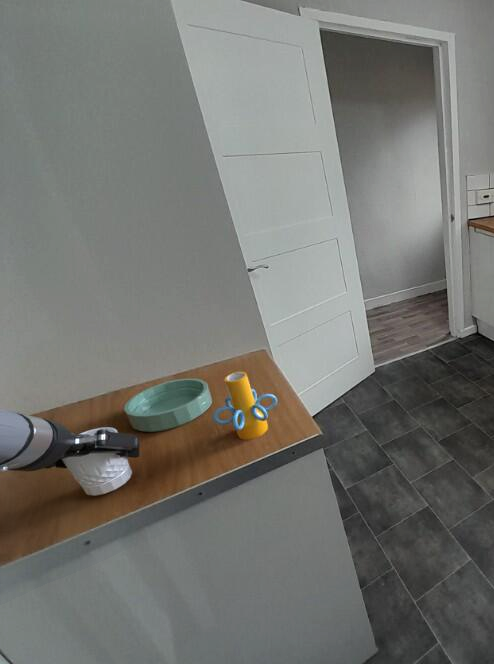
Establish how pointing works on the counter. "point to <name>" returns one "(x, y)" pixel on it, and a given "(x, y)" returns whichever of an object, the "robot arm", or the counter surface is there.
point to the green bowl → (168, 405)
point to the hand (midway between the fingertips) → (109, 455)
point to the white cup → (99, 469)
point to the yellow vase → (245, 407)
